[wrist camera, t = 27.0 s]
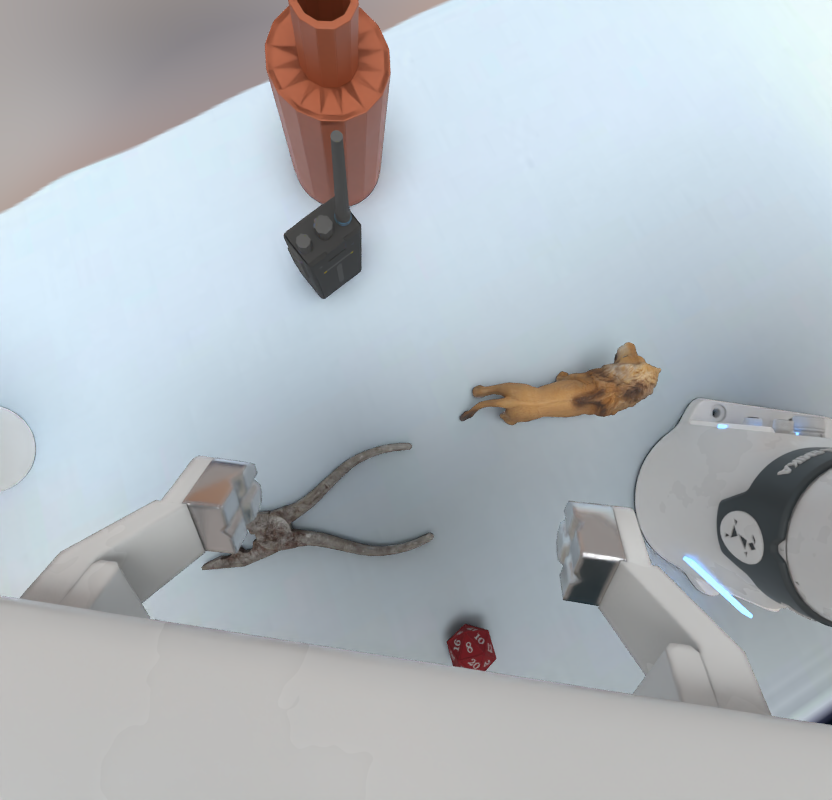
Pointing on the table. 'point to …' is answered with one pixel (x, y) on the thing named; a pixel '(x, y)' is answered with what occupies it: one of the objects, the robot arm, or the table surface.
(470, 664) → the dice
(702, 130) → the table surface
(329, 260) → the walkie-talkie
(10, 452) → the cylindrical container
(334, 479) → the pliers
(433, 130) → the table surface
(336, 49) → the bottle
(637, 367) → the lion figurine
